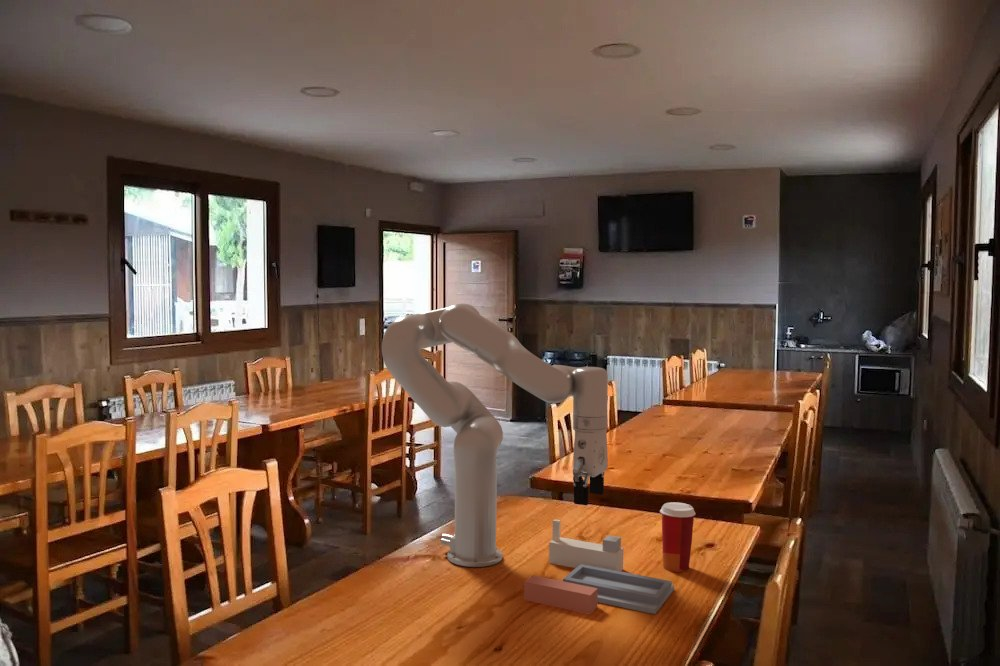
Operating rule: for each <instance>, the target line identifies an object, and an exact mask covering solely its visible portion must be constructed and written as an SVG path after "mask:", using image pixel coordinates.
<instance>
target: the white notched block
mask: <svg viewBox="0 0 1000 666" xmlns="http://www.w3.org/2000/svg"><path fill="white" fill-rule="evenodd" d="M561 524H562V523H561V520H560V519H556V518H555V519H553V520H552V533H551V534H552V535H551V537H552V539H551V540H550V541H549V542H548V564H553V565H557V566H563V567H569V568H574V569H575V568H577V567H578V566H579V565H580V564H583V565H588V566H594V567H599V568H604V569H610V570H615V571H620V572H623V571H624V553H625V552H624V547H622V537H621V536H614V535H609V534H608V535H606V536H605V537H604V538H603V539H602V544H601V543H598V542H597V543H595V542H590V541H586V540H585V541H584V540H578V539H574V538H573V539H572V538H568V537H562V536H561Z"/></svg>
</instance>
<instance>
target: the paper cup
mask: <svg viewBox="0 0 1000 666" xmlns="http://www.w3.org/2000/svg"><path fill="white" fill-rule="evenodd" d="M659 513H660V514H661V534H662V535H661V536H662V540H661V541H662V566H663V569H665V570H667V571H669V572H673V573H684V572H685V573H686V572H688V571H689V570H690V562H691V554H692V553H691V551H692V550H691V549H692V541H693V529H694V528H693V527H694V522H695V521H694V520H695V519H694V518H695V516H696V512H695V509H694V507H693V506H692V505H691V504H687V503H684V502H678V501H677V502H674V501H673V502H671V501H670V502H666V503H664V504H663V505H662V506H661V509H659Z"/></svg>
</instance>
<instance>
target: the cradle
mask: <svg viewBox="0 0 1000 666" xmlns="http://www.w3.org/2000/svg"><path fill="white" fill-rule="evenodd" d="M562 581H564V582H569V583H574V584H579V585H584V586H589V587H594V588H598V598H597V603H600V604H604V605H610V606H614V607H620V608H624V609H628V610H633V611H638V612H642V613H648V614H652V615H656V614H657V612H658V611H659V610H660V608H661V607H662V606H663V605H664V603H665V602H666V601H667V599H668V598H669V597H670V596H671V594H672V593H673V592H674V590H675V585H674V584H673V582H672V580H668V579H667V580H666V579H662V578H658V577H657V578H656V577H651V576H645V575H642V574H641V575H640V574H637V573H636V574H635V573H630V572H624V571H621V572H620V571H615V570H610V569H604V568H599V567H594V566H588V565H583V564H580V565H579V566H578V567H577V568H574V569H573V570H572V571H571V572H569V573H568V574H567V575H566V576H565V577H563V578H562Z"/></svg>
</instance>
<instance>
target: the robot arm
mask: <svg viewBox="0 0 1000 666" xmlns="http://www.w3.org/2000/svg"><path fill="white" fill-rule="evenodd" d="M381 341H382V343H381V354H382V355H381V356H382V359H383V363H384V365H385V367H386V369H387V370H388V372H389V373H390V375H391V376H392V377H393V379H394V380H395V381H396V382H397V383H398V384H399V385H400V387H402V389H403V390H404V391H405V392H406V393H407V395H409V397H410V398H411V399H412V401H413V402H414V403H415V404H416V405H417V406H418V407H419V408H420V409H421V411H422V412H423V413H424V414H425V415H426V416H427V417H428V419H429V420H430V421H431V422H432V423H433V424H435V425H437V426H438V427H441V428H449V427H450V428H451V429H452V430H453V431H454V432H455V433H456V435H455V438H454V442H453V459H454V460H453V463H454V535H453V534H452V535H451V534H449V533H442V535H441V536H440V537H441V538H440V545H442V546H449V550H448V551H447V560H448V561H449V562H450V563H452V564H455V565H457V566H462V567H468V568H480V567H481V568H484V567H489V566H493V565H497V564H498V563H500V562H501V561H503V552H502V551H501V550H500V549H499V548H497V509H498V507H497V501H498V496H497V495H498V491H497V489H498V487H497V486H498V484H497V483H498V479H497V478H498V475H497V473H498V471H497V470H498V469H497V468H498V467H497V452H498V449H499V448H500V447H501V445H502V442H503V439H504V434H503V433H504V432H503V428H502V426H501V423H500V422H499V420H498V419H497V418H496V417H495V416H494V415H493V413H491V411H490V410H489V409H488V408H487V407H486V405H484V404H483V402H482V401H481V400H480V399H479V398H478V397H477V396H476V395H475V393H473V392H472V390H470V389H469V388H468V387H467V386H466V385H464V384H463V383H461V382H457V381H448V380H447V379H446V378H444V376H442V374H441V373H440V372H439V371H438V370H437V369H436V367H435V366H434V365H433V364H432V363H431V362H430V361H429V360H427V359H426V358H425V357H424V355H423V354H422V352H421V350H423V349H429V348H432V347H437V346H441V345H446V344H451V343H453V344H455V345H456V346H457V347H460V349H463V350H464V351H466V352H468V353H469V354H471V355H473V356H474V357H476V358H477V359H480V360H481V361H483V362H485V363H486V364H487V365H489V366H491V367H493V369H495V370H496V371H497V372H498V373H500V374H502V375H503V376H504V377H506V378H507V379H508V380H510V381H511V382H513V383H515V384H516V385H517V386H519V388H521V389H523V390H525V391H526V392H528V393H530V394H532V395H533V396H534V397H537V398H538V399H540V400H542V401H544V402H546V403H550V404H558V403H562V402H563V401H565V400H566V399H567V398H568V397H572V398H573V400H572V403H573V405H572V407H573V408H572V429H573V430H574V433H575V434H574V442H573V455H572V456H573V458H572V459H573V460H572V461H573V465H572V466H573V467H572V475H573V476H572V481H573V504H575V505H579V506H580V505H581V506H588V505H589V493H590V494H592V495H599V496H602V495H603V494H605V493H604V491H605V490H604V489H605V488H604V486H605V484H604V483H605V472H606V471H607V470H608V466H609V463H608V461H609V460H608V440H607V439H608V438H607V431H608V389H609V388H608V385H609V383H608V382H609V381H608V379H609V377H608V375H609V374H608V371H607V370H606V369H605V368H603V367H598V366H581V367H578V366H577V367H576V366H568V365H563V364H553V365H551V364H549V363H548V362H546V361H545V360H543V359H541V358H539V357H538V356H536V355H535V354H533V353H532V352H531V351H529V350H528V349H527V348H526V347H524V345H522V344H521V342H520V340H518V338H517V337H516V336H515V335H514V334H512V332H510V331H508V330H506V329H504V328H503V327H501V326H499V325H497V324H495V323H494V322H492V321H490V320H489V319H488V318H485V317H484V316H482V315H481V314H480V312H479V310H478V309H477V308H476V307H474V306H473V305H471V304H468V303H455V304H452V305H450V306H449V305H448V307H443V308H439V309H435V310H429V311H425V312H420V313H414V314H407V315H401V316H399V317H397V318H395V319H394V320H393V321H392V322H390V323H389V325H388V326H387V327H386V330H385V332H384V335H383V338H382V340H381ZM588 484H589V486H588Z"/></svg>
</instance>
